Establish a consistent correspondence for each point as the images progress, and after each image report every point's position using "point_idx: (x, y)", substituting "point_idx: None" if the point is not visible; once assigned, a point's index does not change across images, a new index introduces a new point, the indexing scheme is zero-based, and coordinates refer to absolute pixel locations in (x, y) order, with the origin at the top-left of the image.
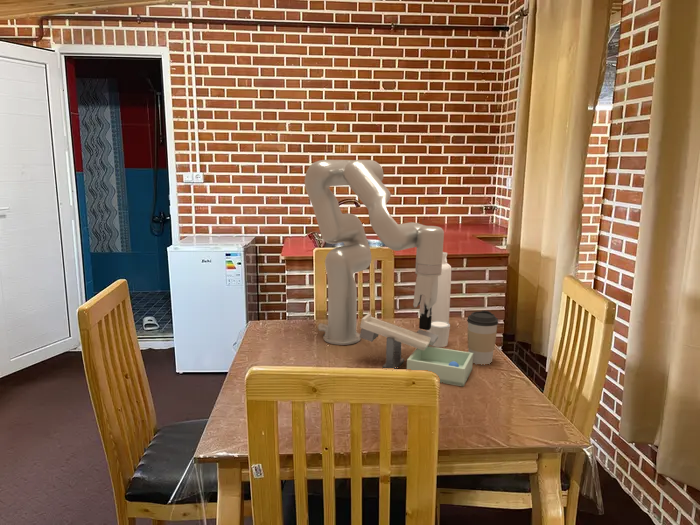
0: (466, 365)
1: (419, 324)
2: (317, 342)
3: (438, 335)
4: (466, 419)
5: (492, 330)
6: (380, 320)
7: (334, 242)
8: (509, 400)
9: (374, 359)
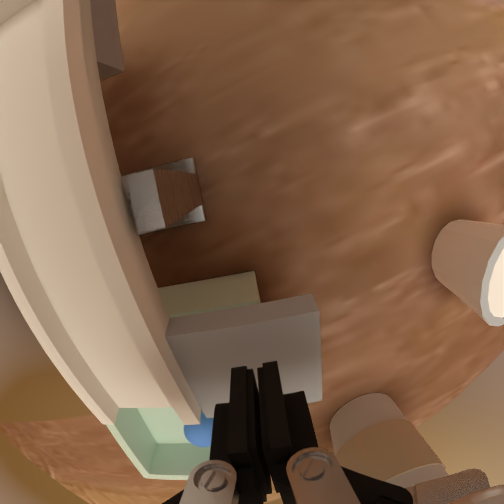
0: (173, 479)
1: (231, 388)
2: None
3: (457, 283)
4: (53, 449)
5: None
6: (53, 48)
7: None
8: (169, 495)
9: (147, 102)
